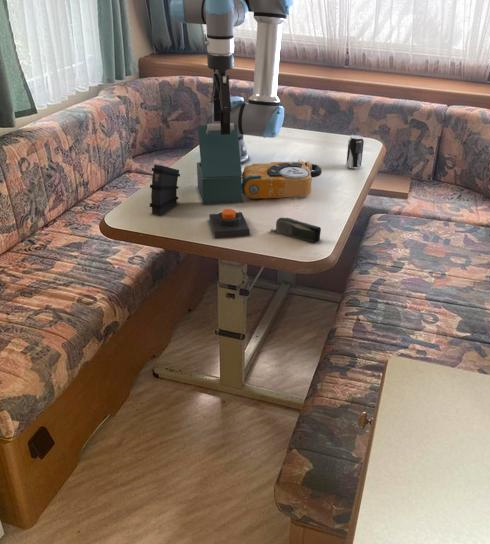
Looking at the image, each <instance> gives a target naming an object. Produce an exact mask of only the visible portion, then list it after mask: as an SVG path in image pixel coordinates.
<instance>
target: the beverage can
mask: <svg viewBox="0 0 490 544" xmlns="http://www.w3.org/2000/svg"><path fill="white" fill-rule="evenodd" d="M364 142H365V140H364V138H363V136H362V135H360V134H351V135H350V137H349V139H348V142H347V152H346V153H347V154H346V161H345V165H346V167H348V168H349V169H353V170H355V169H356V170H357V169H360V168H361V167H362V162H363V153H364V145H365V144H364Z"/></svg>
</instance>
